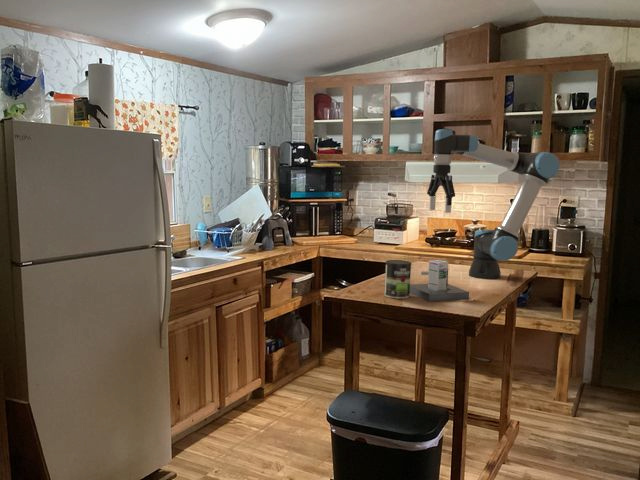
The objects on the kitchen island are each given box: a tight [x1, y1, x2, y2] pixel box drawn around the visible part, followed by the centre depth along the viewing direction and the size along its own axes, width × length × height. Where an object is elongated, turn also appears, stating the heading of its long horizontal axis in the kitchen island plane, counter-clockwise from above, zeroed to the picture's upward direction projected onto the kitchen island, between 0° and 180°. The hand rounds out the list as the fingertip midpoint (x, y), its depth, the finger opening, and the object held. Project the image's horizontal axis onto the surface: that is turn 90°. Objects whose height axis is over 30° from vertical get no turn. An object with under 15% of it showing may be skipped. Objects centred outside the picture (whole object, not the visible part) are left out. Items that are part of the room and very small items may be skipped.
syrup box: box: [427, 259, 449, 291], centre depth 226 cm, size 6×6×14 cm
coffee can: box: [384, 259, 412, 300], centre depth 223 cm, size 10×10×14 cm
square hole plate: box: [410, 283, 470, 303], centre depth 226 cm, size 18×18×3 cm
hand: (439, 211), depth 250 cm, fingers open, 13 cm apart
